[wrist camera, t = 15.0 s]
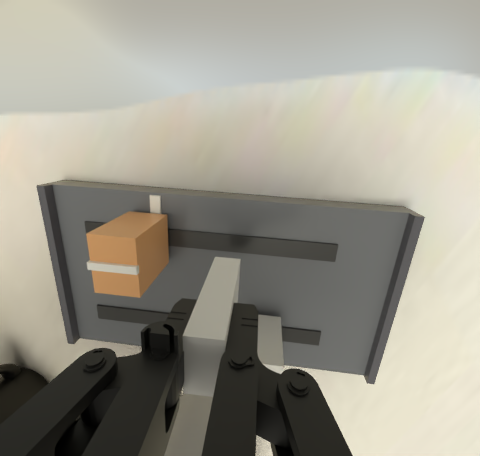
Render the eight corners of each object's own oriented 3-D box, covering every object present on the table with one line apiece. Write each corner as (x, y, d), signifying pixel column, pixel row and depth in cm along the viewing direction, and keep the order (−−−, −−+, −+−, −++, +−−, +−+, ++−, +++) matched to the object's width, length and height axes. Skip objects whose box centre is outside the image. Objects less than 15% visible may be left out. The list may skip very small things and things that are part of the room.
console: (87, 323, 27) (68, 343, 25) (63, 180, 22) (36, 185, 20) (363, 358, 25) (374, 384, 22) (404, 206, 20) (424, 217, 18)
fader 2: (241, 350, 23) (233, 407, 18) (244, 312, 22) (236, 363, 17) (276, 354, 23) (278, 414, 18) (281, 317, 22) (284, 370, 17)
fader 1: (132, 258, 21) (91, 294, 16) (128, 211, 20) (82, 235, 15) (169, 262, 21) (138, 300, 16) (168, 214, 20) (133, 240, 15)
